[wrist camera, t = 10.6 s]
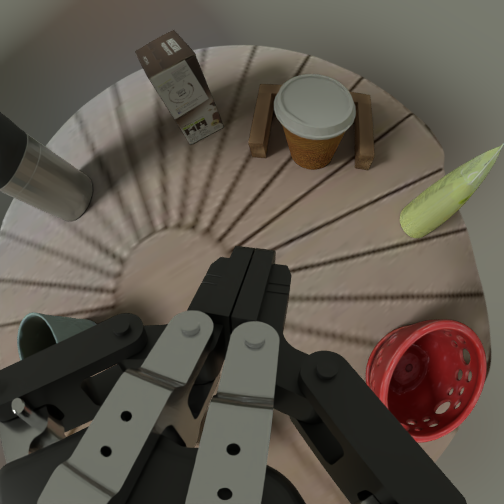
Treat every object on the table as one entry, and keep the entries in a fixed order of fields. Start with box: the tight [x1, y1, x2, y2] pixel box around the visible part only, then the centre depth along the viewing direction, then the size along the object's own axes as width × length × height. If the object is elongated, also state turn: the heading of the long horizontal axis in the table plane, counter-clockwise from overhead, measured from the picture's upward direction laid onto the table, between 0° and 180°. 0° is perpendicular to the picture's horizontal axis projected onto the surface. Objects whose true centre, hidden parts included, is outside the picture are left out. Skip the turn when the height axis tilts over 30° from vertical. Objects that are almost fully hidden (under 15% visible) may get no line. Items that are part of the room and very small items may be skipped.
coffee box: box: [135, 30, 223, 145], centre depth 36 cm, size 9×6×16 cm
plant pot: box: [366, 319, 486, 443], centre depth 26 cm, size 13×13×12 cm
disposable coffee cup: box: [274, 74, 356, 170], centre depth 34 cm, size 10×10×12 cm
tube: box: [400, 143, 504, 238], centre depth 26 cm, size 6×5×20 cm
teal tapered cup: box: [17, 313, 97, 360], centre depth 33 cm, size 10×10×12 cm
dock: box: [248, 84, 374, 170], centre depth 38 cm, size 17×12×4 cm
